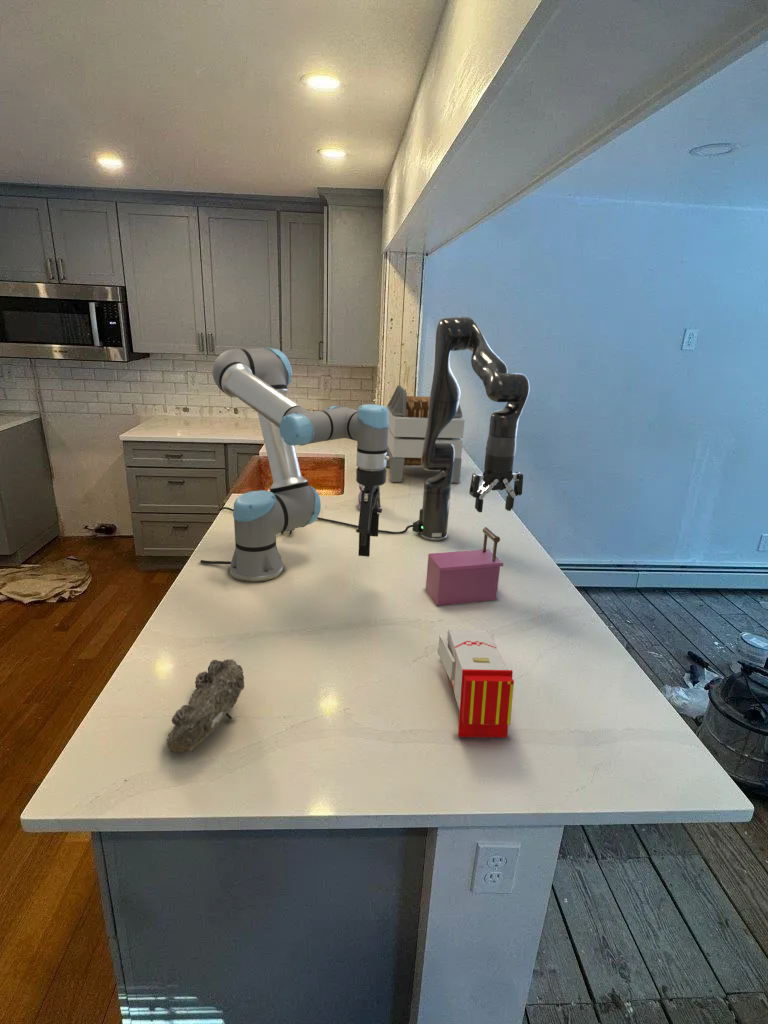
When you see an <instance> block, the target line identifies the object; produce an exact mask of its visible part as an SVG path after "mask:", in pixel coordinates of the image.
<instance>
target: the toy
mask: <svg viewBox="0 0 768 1024" xmlns="http://www.w3.org/2000/svg"><path fill="white" fill-rule="evenodd" d="M446 640H447V643H446V641H445V639H444V636H443V635H442V634H439V637H438V646H437V656H438V657H439V659H440V661H441V663H442V666H443V668H444V670H445V672H446V674H447V677H448V679H449V681H450V684H451V687H452V690H453V693H454V697H455V701H456V705H457V708H458V711H459V714H458V715H459V716H458V730H457V731H458V732H457V737H458V738H508V731H509V726H510V725H511V717H512V707H513V697H514V696H513V695H514V684H515V680H514V679H513V673H514V671H513V670H512V669H508V667H507V665H506V662H505V661H504V659H503V658H502V655H501V653H500V651H499V649H498V647H497V643H496V639H495V637H494V635H493V634H491V632H490V631H489V629H467V628H466V629H465V628H463V629H461V628H460V629H459V628H448V630H447V639H446Z"/></svg>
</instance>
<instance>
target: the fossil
mask: <svg viewBox="0 0 768 1024" xmlns="http://www.w3.org/2000/svg"><path fill="white" fill-rule="evenodd" d="M243 670H244V669H243V667H242V665H240V664H237V662H236V661H235V660H234V659H232V658H231V659H227V658H226V659H224V660H223V661H222V660H217V659H212V660H211V661H210V663H209V665H208V666H207V671H201V672H199V673H198V674H197V675H196V676H195V680H194V684H195V685H194V687H195V689H194V690H193V693H192V694H191V697H190V698H189V700H188V704H184V705H182V706H181V707H180V709H177V710H176V711H175V713H174V715H173V716H172V718H171V723H172V724H173V727H172V730H171V731H170V732H168V734H167V738H166V741H167V742H166V745H167V749H168V750H169V751H173V752H174V753H176V754H178V753H182V752H188V751H189V752H192V751H193V750H195V748H196V747H197V746H199V744H200V743H201V742H203V741H204V740H205V739H206V738H207V737H208V736H209V735H210V734H211V733H212V732H214V730H215V729H217V727H218V726H219V724H220V722H221V721H222V720H223V719H224V718H225V716H226V717H227V719H229V720H233V717H232V715H230V714H229V710H230V709H231V708H234V706H235V704H236V703H237V702H238V699H239V697H240V695H241V693H242V691H243V690H245V689H244V688H245V675H244V671H243Z"/></svg>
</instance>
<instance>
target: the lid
mask: <svg viewBox="0 0 768 1024" xmlns="http://www.w3.org/2000/svg"><path fill="white" fill-rule="evenodd" d="M482 533H483V534H484V535H483V544H482V549H473V550H460V551H446V552H434V553H433V552H432V553H428V554H427V558H428V557H429V559H430V560H431V561H432V562H433V564H434V565H435V566H436V567H437V568H438V570H439V571H440V572H442V571H454V570H466V569H478V568H490V567H500V568H501V567H504V561H503V560H501V559H500V558H499V557H498V556H497V549H498V543H500V541H501V537H500V536H499V535H497V534H496V532H494V531H493V530H492V529H491V528H489V527H487V526H485V527H483V528H482ZM488 538H489V539H490V540H491V541H492V542H493V549H492V551H491V550H490V549H489V548H487V544H488Z"/></svg>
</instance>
